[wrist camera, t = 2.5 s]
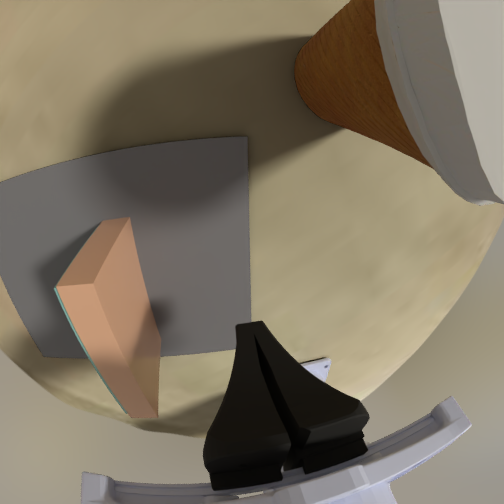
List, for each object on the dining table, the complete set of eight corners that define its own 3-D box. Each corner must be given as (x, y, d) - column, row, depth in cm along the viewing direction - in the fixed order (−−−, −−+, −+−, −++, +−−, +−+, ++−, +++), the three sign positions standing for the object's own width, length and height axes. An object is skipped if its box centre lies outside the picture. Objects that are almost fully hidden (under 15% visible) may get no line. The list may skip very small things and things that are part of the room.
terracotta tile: (161, 339, 19) (158, 417, 13) (136, 341, 19) (126, 417, 13) (129, 216, 15) (93, 283, 9) (98, 221, 14) (50, 286, 8)
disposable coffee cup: (299, 170, 16) (454, 272, 6) (241, 28, 11) (341, -104, 1) (410, 130, 16) (555, 177, 5) (371, 10, 11) (514, -23, 1)
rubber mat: (251, 343, 22) (251, 346, 22) (45, 353, 19) (43, 356, 18) (246, 136, 14) (247, 136, 14) (-22, 191, 11) (-25, 192, 11)
